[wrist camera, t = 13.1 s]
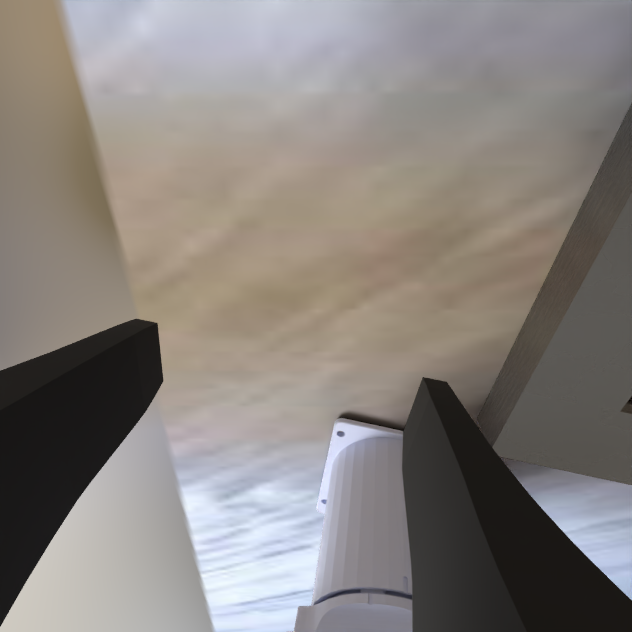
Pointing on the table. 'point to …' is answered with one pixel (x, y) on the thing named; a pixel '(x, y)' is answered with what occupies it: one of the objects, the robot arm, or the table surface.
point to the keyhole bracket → (577, 343)
